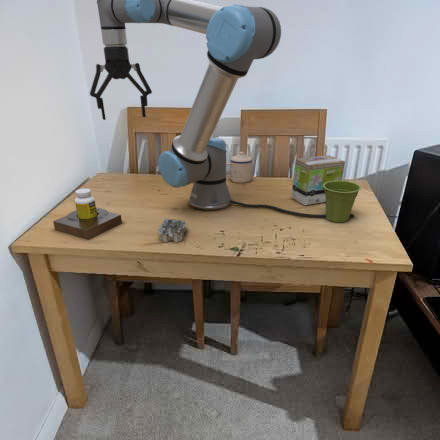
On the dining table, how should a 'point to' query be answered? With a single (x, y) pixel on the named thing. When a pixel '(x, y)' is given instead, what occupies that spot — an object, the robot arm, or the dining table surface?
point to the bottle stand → (87, 223)
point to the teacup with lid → (240, 168)
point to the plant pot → (340, 199)
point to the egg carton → (172, 230)
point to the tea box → (315, 177)
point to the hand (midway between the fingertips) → (124, 118)
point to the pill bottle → (85, 204)
